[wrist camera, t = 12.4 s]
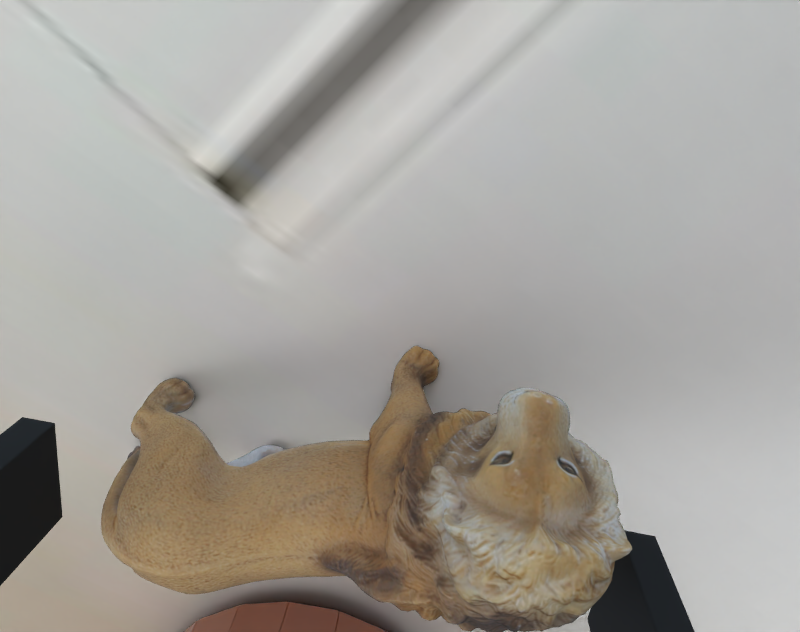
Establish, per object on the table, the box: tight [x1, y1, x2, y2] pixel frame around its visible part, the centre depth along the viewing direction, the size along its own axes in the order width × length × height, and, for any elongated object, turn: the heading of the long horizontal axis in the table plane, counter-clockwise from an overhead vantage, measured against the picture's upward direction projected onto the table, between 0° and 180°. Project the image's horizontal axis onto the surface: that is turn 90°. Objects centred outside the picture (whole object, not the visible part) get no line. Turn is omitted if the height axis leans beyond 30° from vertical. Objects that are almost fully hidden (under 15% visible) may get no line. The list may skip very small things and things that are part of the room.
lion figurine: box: [101, 346, 632, 632], centre depth 15 cm, size 15×5×9 cm, turn 108°
